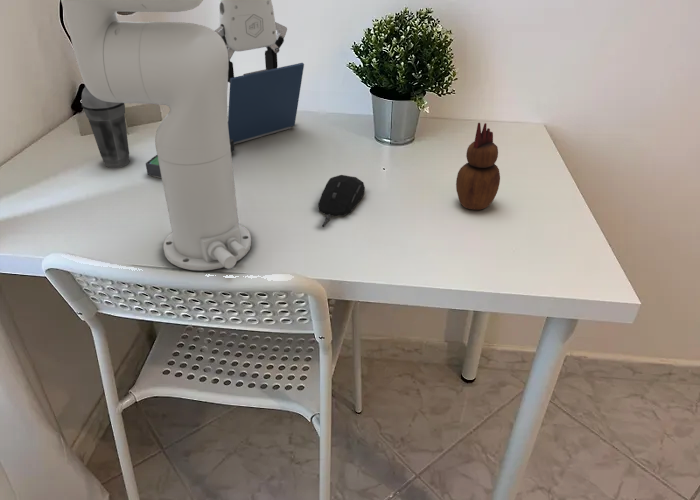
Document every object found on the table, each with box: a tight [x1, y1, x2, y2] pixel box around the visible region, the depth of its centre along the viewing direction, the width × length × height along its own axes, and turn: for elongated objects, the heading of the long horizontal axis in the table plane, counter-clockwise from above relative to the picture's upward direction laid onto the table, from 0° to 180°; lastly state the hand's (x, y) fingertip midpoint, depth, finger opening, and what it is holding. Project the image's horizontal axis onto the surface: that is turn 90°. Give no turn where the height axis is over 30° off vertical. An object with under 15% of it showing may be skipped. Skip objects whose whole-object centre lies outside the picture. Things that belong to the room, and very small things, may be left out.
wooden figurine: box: [455, 122, 501, 211], centre depth 93 cm, size 7×6×15 cm
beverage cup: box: [81, 85, 131, 169], centre depth 104 cm, size 7×7×20 cm
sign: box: [227, 62, 305, 145], centre depth 116 cm, size 15×16×5 cm
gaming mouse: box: [317, 174, 366, 228], centre depth 96 cm, size 6×15×4 cm, turn 162°
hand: (250, 76), depth 115 cm, fingers open, 9 cm apart
